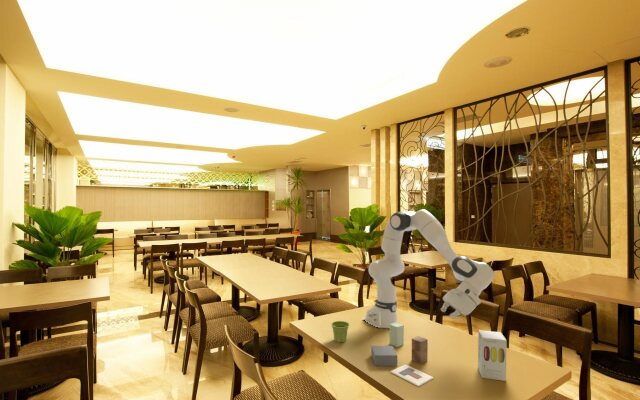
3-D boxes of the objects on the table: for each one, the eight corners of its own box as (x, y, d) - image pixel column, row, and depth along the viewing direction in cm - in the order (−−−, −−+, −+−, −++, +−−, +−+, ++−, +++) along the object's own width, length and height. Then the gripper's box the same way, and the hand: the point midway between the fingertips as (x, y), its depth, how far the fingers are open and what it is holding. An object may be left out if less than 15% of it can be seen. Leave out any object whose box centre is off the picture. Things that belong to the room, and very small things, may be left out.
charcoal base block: (371, 356, 158) (371, 345, 158) (392, 356, 158) (392, 345, 158) (374, 366, 148) (374, 355, 148) (397, 366, 148) (397, 355, 148)
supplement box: (481, 378, 138) (481, 337, 139) (477, 367, 147) (477, 329, 147) (507, 381, 136) (507, 339, 136) (501, 370, 145) (501, 331, 145)
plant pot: (340, 346, 169) (340, 328, 169) (327, 340, 176) (327, 323, 176) (352, 341, 175) (352, 324, 175) (340, 335, 182) (340, 319, 182)
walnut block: (411, 360, 154) (411, 338, 154) (418, 357, 157) (418, 335, 157) (420, 364, 150) (421, 342, 150) (427, 361, 153) (427, 339, 153)
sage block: (389, 343, 172) (389, 324, 172) (395, 341, 175) (395, 322, 175) (397, 347, 168) (397, 327, 168) (403, 344, 171) (403, 325, 171)
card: (390, 372, 142) (390, 370, 142) (405, 365, 149) (405, 363, 149) (418, 386, 131) (418, 384, 131) (433, 378, 138) (433, 376, 138)
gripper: (451, 282, 165) (432, 302, 164) (473, 293, 145) (451, 316, 144) (460, 291, 165) (441, 311, 165) (483, 303, 145) (461, 326, 144)
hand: (446, 314), depth 154 cm, fingers open, 8 cm apart
